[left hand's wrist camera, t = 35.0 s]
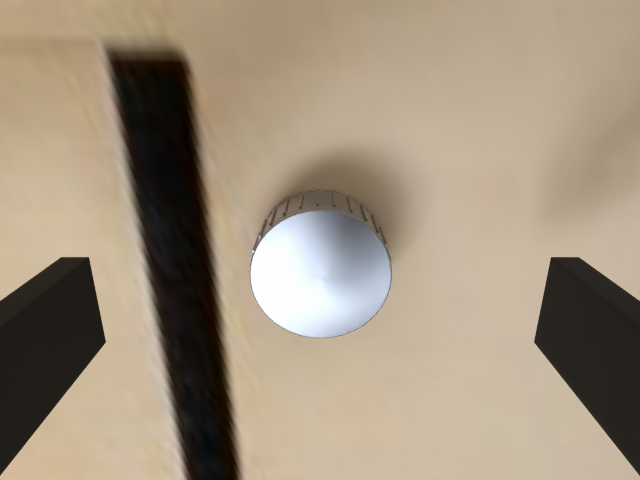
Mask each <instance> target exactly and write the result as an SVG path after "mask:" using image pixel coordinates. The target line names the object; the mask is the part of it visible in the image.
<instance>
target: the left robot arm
mask: <svg viewBox="0 0 640 480" xmlns="http://www.w3.org/2000/svg"><path fill="white" fill-rule="evenodd" d="M105 343H106V341H105V336H104V331H103V326H102V321H101V316H100V311H99V306H98V301H97V296H96V291H95V286H94V281H93V276H92V271H91V266H90V261H89V257H61V258H60V259H58V260H57V261H55V262H54V263H53V264H51V265H50V266H49V267H47V268H46V269H44V270H43V271H42V272H40V273H39V274H37V275H36V276H35V277H33V278H32V279H30V280H29V281H28V282H26V283H25V284H23V285H22V286H21V287H19V288H18V289H16V290H15V291H14V292H12V293H11V294H9V295H8V296H7V297H5V298H4V299H3V300H1V301H0V475H1V474H2V473H3V471H4V470H5V469H6V468H7V466H8V465H9V464H10V463H11V461H12V460H13V459H14V457H15V456H16V455H17V454H18V452H19V451H20V450H21V449H22V447H23V446H24V445H25V444H26V442H27V441H28V440H29V439H30V437H31V436H32V435H33V433H34V432H35V431H36V430H37V428H38V427H39V426H40V425H41V423H42V422H43V421H44V420H45V418H46V417H47V416H48V415H49V413H50V412H51V411H52V409H53V408H54V407H55V406H56V404H57V403H58V402H59V401H60V399H61V398H62V397H63V396H64V394H65V393H66V392H67V391H68V389H69V388H70V387H71V385H72V384H73V383H74V382H75V380H76V379H77V378H78V377H79V375H80V374H81V373H82V372H83V370H84V369H85V368H86V367H87V365H88V364H89V363H90V361H91V360H92V359H93V358H94V356H95V355H96V354H97V353H98V351H99V350H100V349H101V348H102V346H103V345H104V344H105ZM534 343H535V344H536V345H537V346H538V348H539V349H540V350H541V351H542V353H543V354H544V355H545V356H546V358H547V359H548V360H549V362H550V363H551V364H552V365H553V367H554V368H555V369H556V370H557V372H558V373H559V374H560V375H561V377H562V378H563V379H564V380H565V382H566V383H567V384H568V386H569V387H570V388H571V389H572V391H573V392H574V393H575V394H576V396H577V397H578V398H579V399H580V401H581V402H582V403H583V404H584V406H585V407H586V408H587V410H588V411H589V412H590V413H591V415H592V416H593V417H594V418H595V420H596V421H597V422H598V423H599V425H600V426H601V427H602V428H603V430H604V431H605V432H606V434H607V435H608V436H609V437H610V439H611V440H612V441H613V442H614V444H615V445H616V446H617V447H618V449H619V450H620V451H621V452H622V454H623V455H624V456H625V458H626V459H627V460H628V461H629V463H630V464H631V465H632V466H633V468H634V469H635V470H636V471H637V473H638V474H639V475H640V301H639V300H637V299H636V298H635V297H633V296H632V295H630V294H629V293H628V292H626V291H625V290H624V289H622V288H621V287H619V286H618V285H617V284H615V283H614V282H612V281H611V280H610V279H608V278H607V277H605V276H604V275H603V274H601V273H600V272H598V271H597V270H596V269H594V268H593V267H591V266H590V265H589V264H587V263H586V262H585V261H583V260H582V259H580V258H579V257H551V261H550V266H549V271H548V276H547V281H546V286H545V291H544V296H543V301H542V306H541V311H540V316H539V321H538V326H537V331H536V336H535V341H534Z"/></svg>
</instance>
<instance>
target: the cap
mask: <svg viewBox="0 0 640 480" xmlns="http://www.w3.org/2000/svg"><path fill="white" fill-rule="evenodd" d="M387 247H388V246H387V243H386V241H385V238H384V235H383V233H382V230H381V228H380V227H378V225H377V223H376V220H375V218H374V215H373V214H372V215H371V214H370V213H369V212H368V211H367V210H366V209H365V208H364V205H363V204H362V203H361V204H360V203H358V202H357V201H355V200H353V199H352V198H350V196H349V195H348V196H345V195H343V194H339V193H336V192H335V191H332V192H330V191H319V190H316V191H311V192H306V193H303V192H301V193H300V194H299V195H296V196H294V197H292V198H290V199H288V198H287V199H286V201H285V202H283V203H282V204H281V205H279V206H278V207H277V208H276V207H275V208H274V210H273V212H272V213H271V215H270V216H269V217H268V219H265V221H264V223H263V226H262V229H261V231H260V232H259V235H258V237H257V240H256V243H255V245H254V248H253V251H252V253H253V256H252V260H251V264H250V282H251V287H252V291H253V294H254V297H255V299H256V301H257V303H258V304H259V306H260V307H261V309H262V310H263V312H264V313H265V314H266V315H267V316H268V317H269V318H270V319H271V320H272V321H273V322H275V323H276V324H277V325H279V326H280V327H282V328H284V329H286V330H288V331H290V332H292V333H295V334H298V335H301V336H305V337H312V338H330V337H336V336H341V335H344V334H347V333H350V332H352V331H354V330H356V329H358V328H360V327H361V326H363V325H364V324H366V323H367V322H368V321H369V320H371V319H372V318H373V317H374V316H375V314H376V313H377V312H378V311H379V310H380V308H381V307H382V305H383V304H384V302H385V300H386V298H387V295H388V293H389V290H390V285H391V278H392V269H391V258H390V255H389V253H388V250H387Z"/></svg>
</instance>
